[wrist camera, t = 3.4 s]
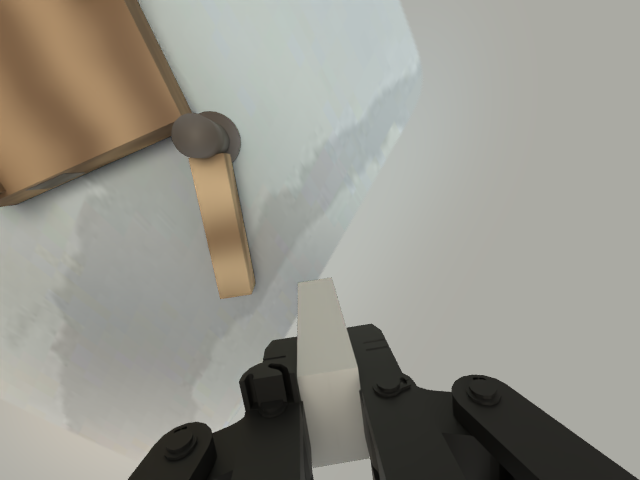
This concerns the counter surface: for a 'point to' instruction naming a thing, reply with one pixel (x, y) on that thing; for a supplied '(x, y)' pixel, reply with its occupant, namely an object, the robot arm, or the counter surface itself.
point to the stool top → (81, 91)
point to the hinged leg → (217, 201)
